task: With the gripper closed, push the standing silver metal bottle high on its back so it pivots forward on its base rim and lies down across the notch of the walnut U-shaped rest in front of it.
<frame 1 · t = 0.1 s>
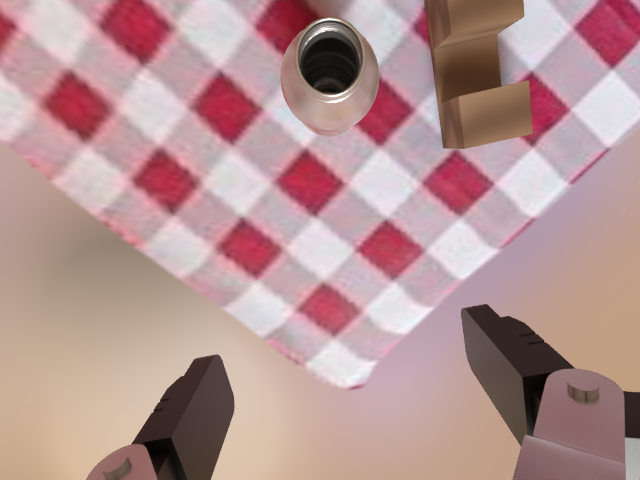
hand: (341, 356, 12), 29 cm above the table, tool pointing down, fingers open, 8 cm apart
u rest: (464, 71, 36), on the table
silver metal bottle: (328, 103, 37), on the table
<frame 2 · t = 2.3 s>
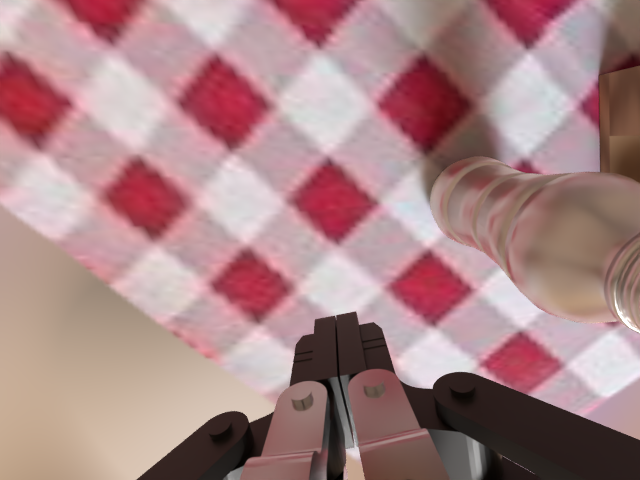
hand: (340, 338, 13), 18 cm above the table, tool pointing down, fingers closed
u rest: (639, 159, 29), on the table
silver metal bottle: (461, 196, 30), on the table
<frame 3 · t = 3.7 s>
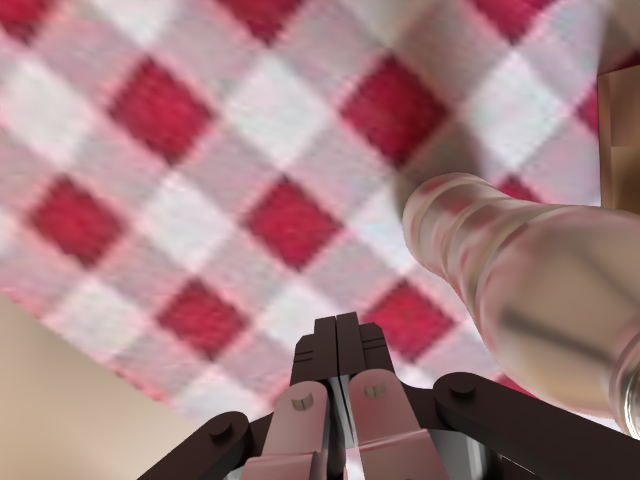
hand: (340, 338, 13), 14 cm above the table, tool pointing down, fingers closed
silver metal bottle: (440, 217, 26), on the table
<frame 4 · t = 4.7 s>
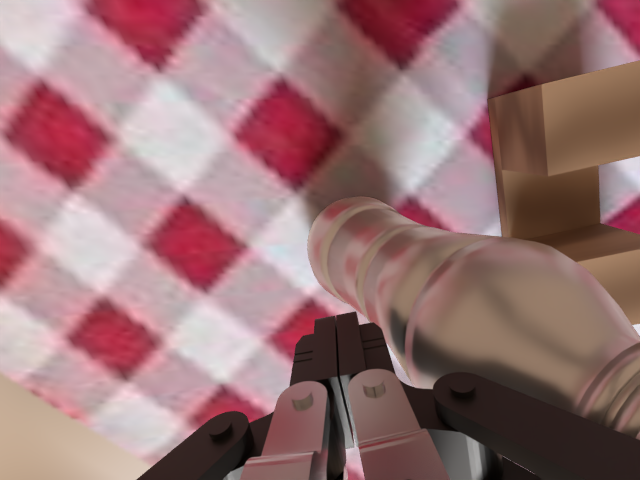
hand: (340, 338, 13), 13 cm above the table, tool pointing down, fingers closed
u rest: (543, 195, 25), on the table
silver metal bottle: (344, 240, 25), point 1 cm above the table
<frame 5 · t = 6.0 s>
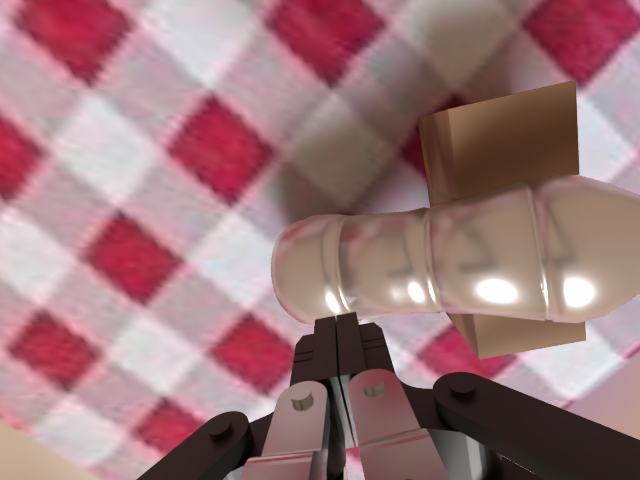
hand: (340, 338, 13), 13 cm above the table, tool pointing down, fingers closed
u rest: (476, 213, 25), on the table
silver metal bottle: (285, 274, 23), point 3 cm above the table, touching u rest
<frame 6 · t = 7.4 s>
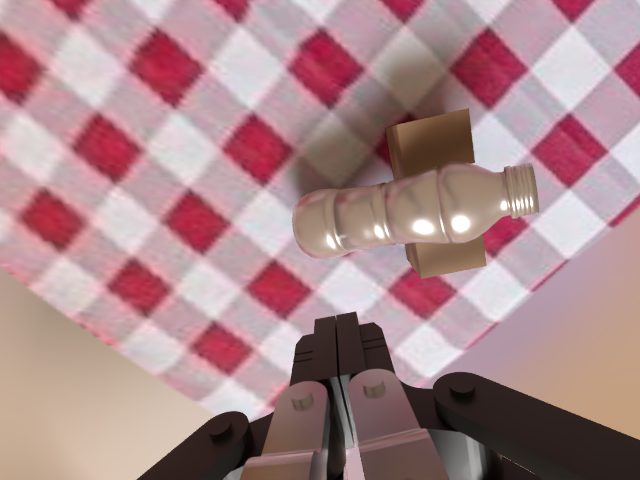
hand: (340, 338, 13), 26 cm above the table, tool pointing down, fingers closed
u rest: (425, 190, 37), on the table
silver metal bottle: (300, 228, 36), point 3 cm above the table, touching u rest
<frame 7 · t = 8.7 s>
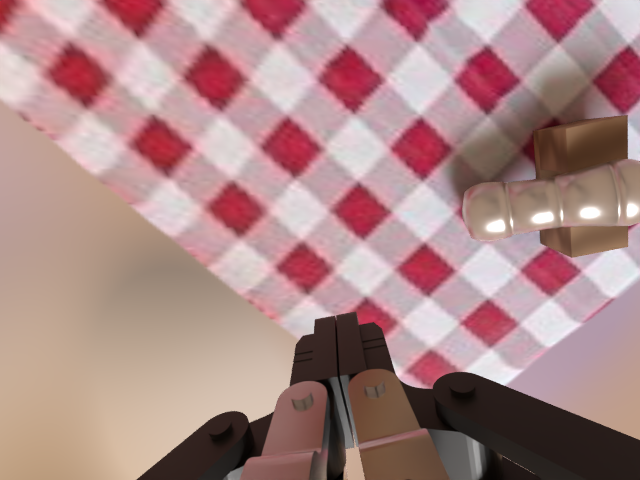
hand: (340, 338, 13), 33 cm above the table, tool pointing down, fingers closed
u rest: (562, 184, 44), on the table
silver metal bottle: (461, 216, 42), point 3 cm above the table, touching u rest
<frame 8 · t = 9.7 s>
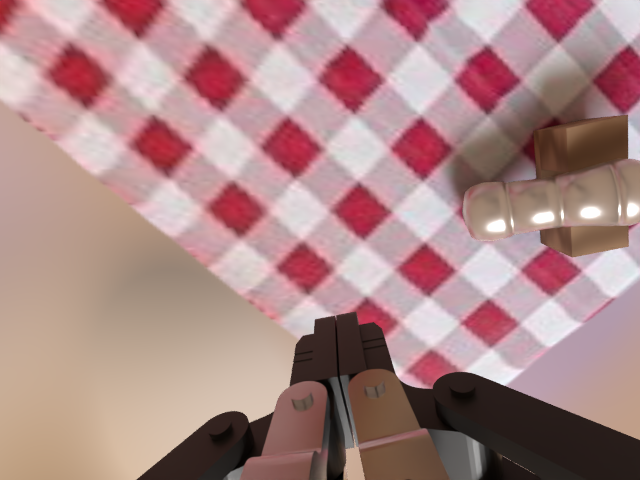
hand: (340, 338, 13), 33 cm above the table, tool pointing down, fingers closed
u rest: (562, 183, 44), on the table
silver metal bottle: (461, 216, 42), point 3 cm above the table, touching u rest
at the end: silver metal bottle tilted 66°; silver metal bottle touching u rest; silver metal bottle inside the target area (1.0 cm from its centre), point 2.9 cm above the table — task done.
